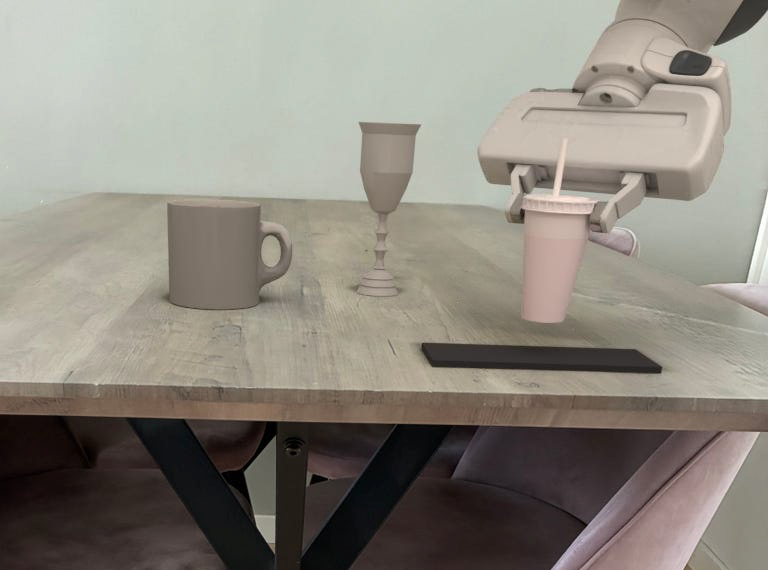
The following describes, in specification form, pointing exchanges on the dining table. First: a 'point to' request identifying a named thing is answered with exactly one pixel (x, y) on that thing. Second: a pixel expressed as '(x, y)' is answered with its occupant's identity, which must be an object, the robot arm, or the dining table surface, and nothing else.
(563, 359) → the edge strip
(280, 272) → the coffee mug
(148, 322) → the dining table surface
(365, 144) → the chalice
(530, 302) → the smoothie
